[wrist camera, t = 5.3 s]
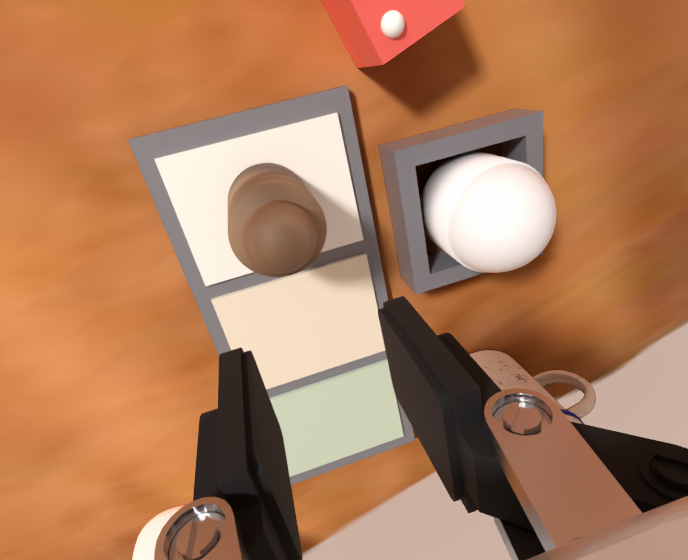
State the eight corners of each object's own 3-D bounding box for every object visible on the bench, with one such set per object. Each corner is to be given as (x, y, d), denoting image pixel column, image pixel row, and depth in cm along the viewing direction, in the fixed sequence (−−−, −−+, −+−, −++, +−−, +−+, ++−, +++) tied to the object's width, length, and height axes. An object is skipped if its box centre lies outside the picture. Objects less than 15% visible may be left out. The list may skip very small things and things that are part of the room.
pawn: (296, 153, 27) (324, 181, 19) (315, 229, 29) (347, 281, 21) (216, 174, 26) (211, 212, 19) (242, 250, 28) (247, 311, 21)
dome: (510, 139, 29) (587, 154, 23) (514, 235, 32) (583, 272, 26) (412, 166, 28) (465, 189, 22) (426, 262, 31) (475, 307, 25)
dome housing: (514, 108, 30) (542, 111, 27) (519, 241, 35) (543, 254, 32) (378, 145, 29) (393, 151, 26) (401, 277, 33) (416, 294, 31)
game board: (344, 85, 27) (348, 86, 26) (411, 434, 40) (416, 442, 39) (130, 138, 25) (126, 140, 24) (274, 482, 39) (276, 493, 38)
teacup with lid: (447, 443, 42) (519, 560, 32) (414, 379, 38) (484, 490, 27) (556, 382, 42) (662, 478, 32) (535, 311, 38) (650, 396, 28)
